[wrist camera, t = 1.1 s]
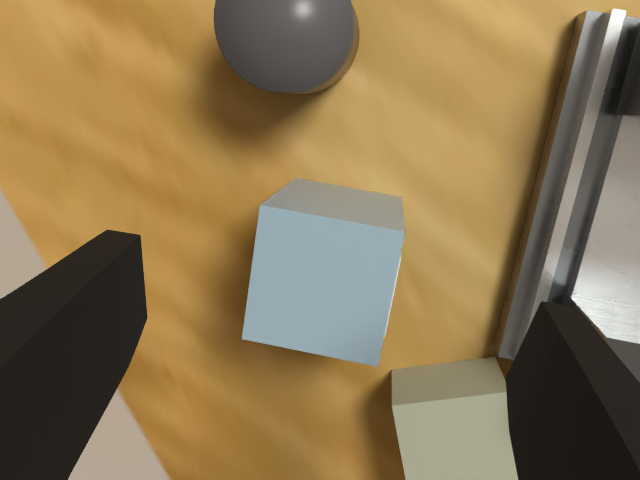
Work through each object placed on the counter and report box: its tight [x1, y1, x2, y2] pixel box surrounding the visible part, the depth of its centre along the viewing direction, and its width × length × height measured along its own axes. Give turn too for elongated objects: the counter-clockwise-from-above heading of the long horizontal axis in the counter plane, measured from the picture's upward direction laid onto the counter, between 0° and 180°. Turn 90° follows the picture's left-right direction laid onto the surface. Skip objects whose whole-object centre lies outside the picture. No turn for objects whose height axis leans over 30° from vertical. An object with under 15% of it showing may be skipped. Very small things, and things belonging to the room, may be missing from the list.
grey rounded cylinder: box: [214, 0, 359, 94], centre depth 19 cm, size 4×4×4 cm
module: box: [242, 178, 405, 367], centre depth 19 cm, size 4×4×6 cm
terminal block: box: [392, 356, 518, 480], centre depth 22 cm, size 4×4×3 cm
